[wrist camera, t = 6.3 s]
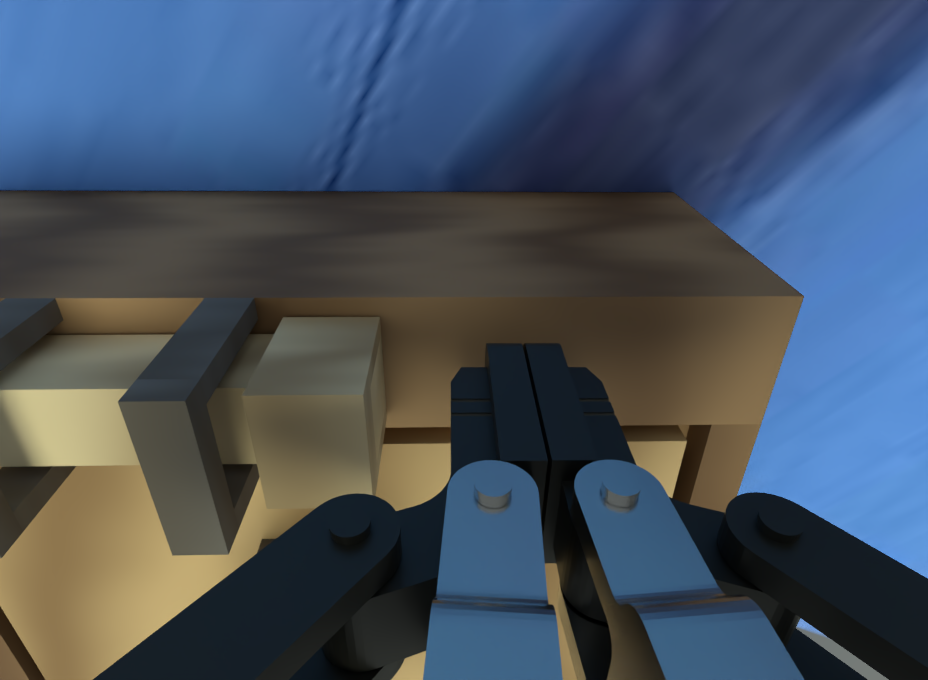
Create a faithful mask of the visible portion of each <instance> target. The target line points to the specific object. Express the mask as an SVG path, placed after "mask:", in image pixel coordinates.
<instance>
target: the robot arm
mask: <svg viewBox="0 0 928 680" xmlns="http://www.w3.org/2000/svg"><path fill="white" fill-rule="evenodd" d="M614 413H615V412H614V409H613V407H612V405H611V402H609V397H608V395H607V393H606V390H605V388H604V385H603V383H602V381H601V380H600V379H599V378H597V377H596V376H595V375H594V374H593V373H592V372H591V371H590V370H588V369H587V368H586V367H568V365H567V362H566V359H565V356H564V353H563V350H562V347H561V345H560V343H524V344H523V346H522V343H486V348H485V367H461V368H460V369H459V371H458V372H457V374H456V375H455V376H454V378H453V379H452V381H451V440H450V442H451V475H450V478H449V481H448V482H447V484H446V486H445V487H444V488H443V490H442V491H441V492H440V493H438V494H437V495H436V496H435V497H433V498H432V499H430V500H428V501H426V502H424V503H422V504H419V505H416V506H413V507H409V508H406V509H402V510H399V511H396V510H395V509H394V508H393V507H392V506H391V505H390V504H389V503H388V502H386V501H385V500H383V499H381V498H379V497H376V496H373V495H369V494H359V493H355V494H346V495H342V496H338V497H335V498H332V499H330V500H328V501H326V502H324V503H323V504H321V505H320V506H318V507H317V508H315V509H314V510H313V511H311V512H310V513H309V514H308V515H306V516H305V517H304V518H302V519H301V520H300V521H298V522H297V523H296V524H295V525H293V526H292V527H291V528H289V529H288V530H287V531H285V532H284V533H283V534H281V535H280V536H279V537H278V538H276V539H275V540H274V541H272V542H271V543H270V544H268V545H267V546H266V547H265V548H263V549H262V550H261V551H259V552H258V553H257V554H255V555H254V556H253V557H252V558H250V559H249V560H248V561H246V562H245V563H244V564H242V565H241V566H240V567H239V568H237V569H236V570H235V571H233V572H232V573H231V574H229V575H228V576H227V577H225V578H224V579H223V580H222V581H220V582H219V583H218V584H216V585H215V586H214V587H212V588H211V589H210V590H209V591H207V592H206V593H205V594H203V595H202V596H201V597H199V598H198V599H197V600H196V601H194V602H193V603H192V604H190V605H189V606H188V607H186V608H185V609H184V610H183V611H181V612H180V613H179V614H177V615H176V616H175V617H173V618H172V619H171V620H169V621H168V622H167V623H166V624H164V625H163V626H162V627H160V628H159V629H158V630H156V631H155V632H154V633H153V634H151V635H150V636H149V637H147V638H146V639H145V640H143V641H142V642H141V643H140V644H138V645H137V646H136V647H134V648H133V649H132V650H130V651H129V652H128V653H127V654H125V655H124V656H123V657H121V658H120V659H119V660H117V661H116V662H115V663H113V664H112V665H111V666H110V667H108V668H107V669H106V670H104V671H103V672H102V673H100V674H99V675H98V676H97V677H95V678H94V679H93V680H391V679H392V678H393V677H394V676H395V674H396V673H397V672H398V670H399V669H400V668H401V666H402V664H403V662H404V659H405V658H407V657H410V656H413V655H416V654H418V653H421V652H424V651H426V657H425V665H424V674H423V680H563V676H562V666H561V656H560V645H559V635H558V625H557V618H556V612H555V608H554V606H553V605H552V604H549V603H548V596H547V585H546V573H545V563H556V564H557V569H558V574H559V579H560V580H559V587H558V593H557V606H558V611H559V615H560V619H561V622H562V626H563V630H564V634H565V637H566V641H567V645H568V649H569V652H570V656H571V660H572V664H573V667H574V671H575V675H576V679H577V680H867V679H866V678H864V677H863V676H862V675H860V674H859V673H858V672H856V671H855V670H853V669H852V668H850V667H849V666H848V665H846V664H845V663H843V662H842V661H841V660H839V659H838V658H837V657H835V656H834V655H832V654H831V653H829V652H828V651H827V650H825V649H824V648H823V647H821V646H820V645H818V644H817V643H816V642H814V641H813V640H811V639H810V638H809V637H807V636H806V635H804V634H803V633H802V632H800V631H799V630H797V629H796V626H797V624H798V622H799V620H800V618H802V619H803V620H804V621H806V622H807V623H809V624H810V625H812V626H813V627H814V628H816V629H817V630H819V631H820V632H822V633H823V634H824V635H826V636H827V637H829V638H830V639H832V640H833V641H835V642H836V643H837V644H839V645H840V646H842V647H843V648H845V649H846V650H847V651H849V652H850V653H852V654H853V655H855V656H856V657H857V658H859V659H860V660H862V661H863V662H865V663H866V664H868V665H869V666H870V667H872V668H873V669H875V670H876V671H877V672H879V673H880V674H882V675H883V676H885V677H886V678H888V679H889V680H928V579H927V578H926V577H924V576H922V575H920V574H919V573H917V572H915V571H913V570H912V569H910V568H908V567H906V566H905V565H903V564H901V563H899V562H898V561H896V560H894V559H892V558H891V557H889V556H887V555H885V554H884V553H882V552H880V551H878V550H877V549H875V548H873V547H871V546H870V545H868V544H866V543H865V542H863V541H861V540H859V539H858V538H856V537H854V536H852V535H851V534H849V533H847V532H845V531H844V530H842V529H840V528H838V527H837V526H835V525H833V524H831V523H830V522H828V521H826V520H824V519H823V518H821V517H819V516H817V515H816V514H814V513H812V512H810V511H809V510H807V509H805V508H803V507H802V506H800V505H798V504H796V503H794V502H792V501H790V500H787V499H785V498H783V497H779V496H776V495H772V494H767V493H757V492H756V493H746V494H741V495H739V496H736V497H735V498H733V499H732V500H731V501H730V502H729V504H728V505H727V508H726V511H725V512H720V511H716V510H712V509H708V508H703V507H699V506H695V505H691V504H687V503H684V502H680V501H678V500H675V499H673V498H671V497H669V496H668V495H667V493H666V491H665V489H664V487H663V486H662V485H661V483H660V482H659V481H658V480H657V479H656V477H654V476H653V475H652V474H651V473H650V472H648V471H646V470H645V469H643V468H641V467H639V466H637V465H636V463H635V460H634V458H633V455H632V453H631V451H630V448H629V446H628V443H627V441H626V439H625V436H624V434H623V431H622V429H621V426H620V424H619V422H618V419H617V417H616V416H615V414H614Z"/></svg>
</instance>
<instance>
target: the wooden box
mask: <svg viewBox="0 0 928 680" xmlns="http://www.w3.org/2000/svg"><path fill="white" fill-rule="evenodd" d="M803 298H804V296H803V295H802V294H801V293H799V292H798V291H797V290H796V289H794V288H793V287H792V286H790V285H789V284H788V283H787V282H785V281H784V280H783V279H782V278H780V277H779V276H778V275H777V274H775V273H774V272H773V271H772V270H770V269H769V268H768V267H767V266H765V265H764V264H763V263H762V262H760V261H759V260H758V259H757V258H755V257H754V256H753V255H752V254H750V253H749V252H748V251H747V250H745V249H744V248H743V247H741V246H740V245H739V244H738V243H736V242H735V241H734V240H733V239H731V238H730V237H729V236H728V235H726V234H725V233H724V232H723V231H721V230H720V229H719V228H718V227H716V226H715V225H714V224H713V223H711V222H710V221H709V220H708V219H706V218H705V217H704V216H703V215H701V214H700V213H699V212H698V211H696V210H695V209H694V208H692V207H691V206H690V205H689V204H687V203H686V202H685V201H684V200H682V199H681V198H680V197H679V196H677V195H676V194H675V193H674V192H340V191H0V371H1V370H2V369H4V368H5V367H6V366H7V365H9V364H10V363H11V362H12V361H14V360H15V359H16V358H17V357H19V356H20V355H21V354H22V353H23V352H25V351H26V350H27V349H28V348H30V347H31V346H32V345H33V344H35V343H36V342H37V341H38V340H40V339H41V338H42V337H43V336H44V335H173V336H172V338H171V339H170V340H169V341H168V342H167V343H166V345H165V346H164V347H163V348H162V349H161V351H160V352H159V353H158V354H157V355H156V357H155V358H154V359H153V360H152V361H151V363H150V364H149V365H148V366H147V367H146V369H145V370H144V371H143V372H142V373H141V374H140V376H139V377H138V378H137V379H136V380H135V382H134V383H133V384H132V385H131V386H130V388H129V389H128V390H127V391H126V392H125V394H124V395H123V396H122V397H121V398H120V400H119V401H118V404H119V407H120V410H121V412H122V415H123V418H124V421H125V424H126V427H127V429H128V432H129V435H130V438H131V441H132V443H133V446H134V449H135V452H136V455H137V457H138V460H139V463H140V466H141V469H142V471H143V474H144V477H145V480H146V483H147V486H148V488H149V491H150V494H151V497H152V500H153V502H154V505H155V508H156V511H157V514H158V516H159V519H160V522H161V525H162V528H163V530H164V533H165V536H166V539H167V542H168V544H169V547H170V550H171V553H172V556H175V555H229V553H230V550H231V548H232V545H233V543H234V540H235V538H236V535H237V533H238V530H239V528H240V525H241V522H242V520H243V517H244V515H245V512H246V510H247V507H248V505H249V502H250V500H251V497H252V495H253V492H254V490H255V487H256V485H257V482H258V480H259V477H260V476H259V471H258V467H257V464H222V462H221V458H220V454H219V450H218V446H217V443H216V439H215V435H214V431H213V427H212V424H211V420H210V416H209V412H208V408H207V405H206V404H207V403H208V401H209V399H210V398H211V396H212V394H213V393H214V391H215V390H216V388H217V386H218V385H219V383H220V381H221V380H222V378H223V376H224V375H225V373H226V371H227V370H228V368H229V367H230V365H231V363H232V362H233V360H234V358H235V357H236V355H237V353H238V352H239V350H240V348H241V347H242V345H243V343H244V342H245V340H246V339H247V337H248V335H249V334H275V332H276V330H277V328H278V326H279V324H280V322H281V320H282V318H283V317H380V325H381V340H382V354H383V368H384V382H385V396H386V411H387V420H386V427H385V428H404V427H451V381H452V379H453V378H454V376H455V375H456V374H457V372H458V371H459V369H460V368H461V367H485V348H486V343H522V346H523V344H524V343H560V345H561V347H562V350H563V353H564V356H565V359H566V362H567V365H568V367H586V368H587V369H588V370H590V371H591V372H592V373H593V374H594V375H595V376H596V377H597V378H599V379H600V380H601V381H602V383H603V385H604V388H605V390H606V393H607V395H608V397H609V402H611V405H612V407H613V409H614V412H615V413H614V414H615V416H616V417H617V419H618V422H619V424H620V425H678V426H679V428H680V430H681V431H682V433H683V435H684V437H685V439H686V440H687V443H686V447H685V450H684V454H683V458H682V462H681V466H680V470H679V473H678V477H677V481H676V485H675V489H674V493H673V496H672V498H673V499H675V500H678V501H680V502H684V503H687V504H691V505H695V506H699V507H703V508H708V509H712V510H716V511H720V512H725V511H726V508H727V505H728V504H729V502H730V501H731V500H732V499H733V498H735V497H736V496H737V494H738V491H739V488H740V485H741V482H742V479H743V476H744V473H745V470H746V467H747V464H748V461H749V458H750V455H751V452H752V449H753V446H754V443H755V440H756V437H757V434H758V431H759V428H760V426H761V423H762V420H763V417H764V414H765V411H766V408H767V405H768V402H769V399H770V396H771V393H772V390H773V387H774V384H775V381H776V378H777V375H778V372H779V369H780V366H781V363H782V360H783V357H784V354H785V351H786V348H787V345H788V342H789V340H790V337H791V334H792V331H793V328H794V325H795V322H796V319H797V316H798V313H799V310H800V307H801V304H802V301H803ZM75 467H76V466H22V467H2V468H1V469H0V558H2V557H3V556H4V555H5V554H6V552H7V551H8V550H9V549H10V547H11V546H12V545H13V544H14V543H15V541H16V540H17V539H18V538H19V536H20V535H21V534H22V533H23V531H24V530H25V529H26V528H27V527H28V525H29V524H30V523H31V522H32V520H33V519H34V518H35V517H36V515H37V514H38V513H39V512H40V510H41V509H42V508H43V507H44V506H45V504H46V503H47V502H48V501H49V499H50V498H51V497H52V496H53V494H54V493H55V492H56V491H57V490H58V488H59V487H60V486H61V485H62V483H63V482H64V481H65V480H66V478H67V477H68V476H69V475H70V473H71V472H72V471H73V470H74V469H75ZM0 680H45V678H44V676H43V675H42V673H41V672H40V670H39V668H38V667H37V665H36V663H35V662H34V660H33V659H32V657H31V655H30V654H29V652H28V650H27V649H26V647H25V645H24V644H23V642H22V641H21V639H20V637H19V636H18V634H17V632H16V631H15V629H14V628H13V626H12V624H11V623H10V621H9V619H8V618H7V616H6V615H5V613H4V611H3V610H2V608H1V606H0Z"/></svg>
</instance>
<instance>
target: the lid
mask: <svg viewBox="0 0 928 680" xmlns="http://www.w3.org/2000/svg"><path fill="white" fill-rule="evenodd" d="M620 426H621V429H622V431H623V434H624V436H625V439H626V441H627V443H628V446H629V448H630V451H631V453H632V455H633V458H634V460H635V463H636V465H637V466H639V467H641V468H643V469H645V470H646V471H648V472H650V473H651V474H652V475H653V476H654V477H656V479H657V480H658V481H659V482H660V483H661V485H662V486H663V487H664V489H665V491H666V493H667V495H668V496H669V497H671V498H672V496H673V493H674V489H675V485H676V481H677V477H678V473H679V470H680V466H681V462H682V458H683V454H684V450H685V447H686V443H687V440H686V439H685V437H684V435H683V433H682V431H681V430H680V428H679V426H678V425H620ZM450 440H451V427H404V428H385V433H384V440H383V447H382V454H381V461H380V468H379V475H378V482H377V489H376V497H379V498H381V499H383V500H385V501H386V502H388V503H389V504H390V505H391V506H392V507H393V508H394V509H395V510H396V511H399V510H402V509H406V508H409V507H413V506H416V505H419V504H422V503H424V502H426V501H428V500H430V499H432V498H433V497H435V496H436V495H437V494H438V493H440V492H441V491H442V490H443V488H444V487H445V486H446V484H447V482H448V481H449V478H450V475H451V442H450ZM1 468H2V467H0V469H1ZM314 509H315V508H307V509H267V507H266V503H265V498H264V494H263V489H262V485H261V480H260V477H259V480H258V482H257V485H256V487H255V490H254V492H253V495H252V497H251V500H250V502H249V505H248V507H247V510H246V512H245V515H244V517H243V520H242V522H241V525H240V528H239V530H238V533H237V535H236V538H235V540H234V543H233V545H232V548H231V550H230V553H229V555H175V556H172V553H171V550H170V547H169V544H168V542H167V539H166V536H165V533H164V530H163V528H162V525H161V522H160V519H159V516H158V514H157V511H156V508H155V505H154V502H153V500H152V497H151V494H150V491H149V488H148V486H147V483H146V480H145V477H144V474H143V471H142V469H141V466H140V465H112V466H76V467H75V469H74V470H73V471H72V472H71V473H70V475H69V476H68V477H67V478H66V480H65V481H64V482H63V483H62V485H61V486H60V487H59V488H58V490H57V491H56V492H55V493H54V494H53V496H52V497H51V498H50V499H49V501H48V502H47V503H46V504H45V506H44V507H43V508H42V509H41V510H40V512H39V513H38V514H37V515H36V517H35V518H34V519H33V520H32V522H31V523H30V524H29V525H28V527H27V528H26V529H25V530H24V531H23V533H22V534H21V535H20V536H19V538H18V539H17V540H16V541H15V543H14V544H13V545H12V546H11V547H10V549H9V550H8V551H7V552H6V554H5V555H4V556H3V557H2V558H0V606H1V608H2V610H3V611H4V613H5V615H6V616H7V618H8V619H9V621H10V623H11V624H12V626H13V628H14V629H15V631H16V632H17V634H18V636H19V637H20V639H21V641H22V642H23V644H24V645H25V647H26V649H27V650H28V652H29V654H30V655H31V657H32V659H33V660H34V662H35V663H36V665H37V667H38V668H39V670H40V672H41V673H42V675H43V676H44V678H45V680H93V679H94V678H95V677H97V676H98V675H99V674H100V673H102V672H103V671H104V670H106V669H107V668H108V667H110V666H111V665H112V664H113V663H115V662H116V661H117V660H119V659H120V658H121V657H123V656H124V655H125V654H127V653H128V652H129V651H130V650H132V649H133V648H134V647H136V646H137V645H138V644H140V643H141V642H142V641H143V640H145V639H146V638H147V637H149V636H150V635H151V634H153V633H154V632H155V631H156V630H158V629H159V628H160V627H162V626H163V625H164V624H166V623H167V622H168V621H169V620H171V619H172V618H173V617H175V616H176V615H177V614H179V613H180V612H181V611H183V610H184V609H185V608H186V607H188V606H189V605H190V604H192V603H193V602H194V601H196V600H197V599H198V598H199V597H201V596H202V595H203V594H205V593H206V592H207V591H209V590H210V589H211V588H212V587H214V586H215V585H216V584H218V583H219V582H220V581H222V580H223V579H224V578H225V577H227V576H228V575H229V574H231V573H232V572H233V571H235V570H236V569H237V568H239V567H240V566H241V565H242V564H244V563H245V562H246V561H248V560H249V559H250V558H252V557H253V556H254V555H255V554H257V553H258V552H259V551H261V550H262V549H263V548H265V547H266V546H267V545H268V544H270V543H271V542H272V541H274V540H275V539H276V538H278V537H279V536H280V535H281V534H283V533H284V532H285V531H287V530H288V529H289V528H291V527H292V526H293V525H295V524H296V523H297V522H298V521H300V520H301V519H302V518H304V517H305V516H306V515H308V514H309V513H310V512H311V511H313V510H314ZM545 573H546V585H547V596H548V603H549V604H552V605H553V606H554V608H555V612H556V618H557V625H558V635H559V645H560V656H561V666H562V676H563V680H577V679H576V675H575V671H574V667H573V664H572V660H571V656H570V652H569V649H568V645H567V641H566V637H565V634H564V630H563V626H562V622H561V619H560V615H559V611H558V606H557V593H558V587H559V580H560V579H559V574H558V569H557V564H556V563H545ZM425 657H426V651H424V652H421V653H418V654H416V655H413V656H410V657H407V658H405V659H404V662H403V664H402V666H401V668H400V669H399V670H398V672H397V673H396V674H395V676H394V677H393V678H392V679H391V680H423V674H424V665H425Z"/></svg>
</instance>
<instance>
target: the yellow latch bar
mask: <svg viewBox="0 0 928 680" xmlns="http://www.w3.org/2000/svg"><path fill="white" fill-rule="evenodd" d="M172 336H173V335H44V336H43V337H42V338H41V339H40V340H38V341H37V342H36V343H35V344H33V345H32V346H31V347H30V348H28V349H27V350H26V351H25V352H23V353H22V354H21V355H20V356H19V357H17V358H16V359H15V360H14V361H12V362H11V363H10V364H9V365H7V366H6V367H5V368H4V369H2V370H1V371H0V467H22V466H112V465H140V463H139V460H138V457H137V455H136V452H135V449H134V446H133V443H132V441H131V438H130V435H129V432H128V429H127V427H126V424H125V421H124V418H123V415H122V412H121V410H120V407H119V404H118V401H119V400H120V398H121V397H122V396H123V395H124V394H125V392H126V391H127V390H128V389H129V388H130V386H131V385H132V384H133V383H134V382H135V380H136V379H137V378H138V377H139V376H140V374H141V373H142V372H143V371H144V370H145V369H146V367H147V366H148V365H149V364H150V363H151V361H152V360H153V359H154V358H155V357H156V355H157V354H158V353H159V352H160V351H161V349H162V348H163V347H164V346H165V345H166V343H167V342H168V341H169V340H170V339H171V338H172ZM206 405H207V408H208V412H209V416H210V420H211V424H212V427H213V431H214V435H215V439H216V443H217V446H218V450H219V454H220V458H221V462H222V464H257V467H258V471H259V476H260V480H261V485H262V489H263V494H264V498H265V503H266V507H267V509H307V508H317V507H318V506H320V505H321V504H323V503H324V502H326V501H328V500H330V499H332V498H335V497H338V496H342V495H346V494H355V493H359V494H369V495H373V496H376V489H377V482H378V475H379V468H380V461H381V454H382V447H383V440H384V433H385V427H386V420H387V411H386V396H385V382H384V368H383V354H382V340H381V325H380V317H283V318H282V320H281V322H280V324H279V326H278V328H277V330H276V332H275V334H249V335H248V337H247V339H246V340H245V342H244V343H243V345H242V347H241V348H240V350H239V352H238V353H237V355H236V357H235V358H234V360H233V362H232V363H231V365H230V367H229V368H228V370H227V371H226V373H225V375H224V376H223V378H222V380H221V381H220V383H219V385H218V386H217V388H216V390H215V391H214V393H213V394H212V396H211V398H210V399H209V401H208V403H207V404H206Z"/></svg>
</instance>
